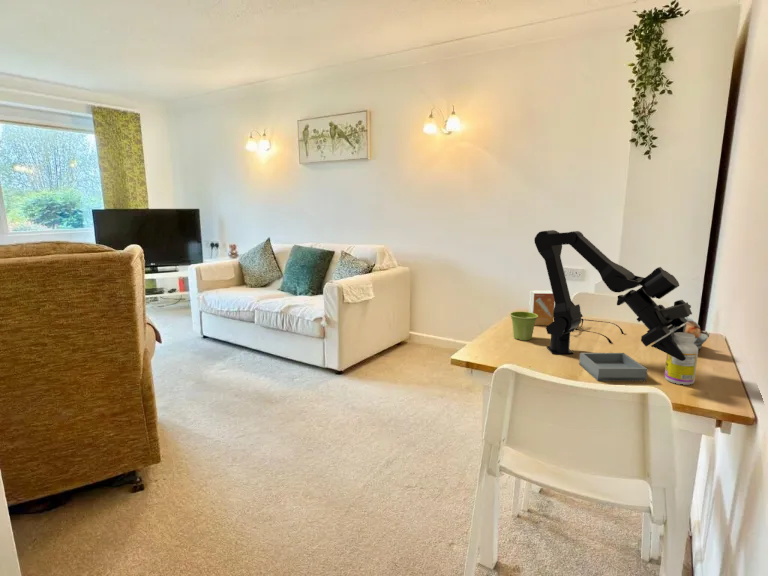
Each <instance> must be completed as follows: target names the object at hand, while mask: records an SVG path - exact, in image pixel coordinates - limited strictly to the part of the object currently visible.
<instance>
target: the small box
mask: <svg viewBox="0 0 768 576" xmlns="http://www.w3.org/2000/svg"><path fill="white" fill-rule="evenodd" d="M554 307H555V301H554V297H553V292H552V289H551V290H550V289H549V290H546V289H545V290H543V289H542V290H541V289H537V290H534V289H533V290H531V289H530V290H529V304H528V312H531V313H535V314H537V315H538V317H537V319H536V321H535V324H534V326H547V325H550V324H551V323H552V322H554V317H553V312H554Z"/></svg>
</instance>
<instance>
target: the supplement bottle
mask: <svg viewBox="0 0 768 576" xmlns="http://www.w3.org/2000/svg"><path fill="white" fill-rule="evenodd" d="M674 341H675V343H676V344H677V346H678V347H679V349H680V350H681V352H682V353H683V355H684V356H685V358H686V359H685V360H684V361H681V360H679V359H677V358H675V357H673V356H671V355H669V354H667V353H666V361H665V368H664V378H665V380H666V381H667V382H670V383H672V384H675V383H676V385H680V384H683V385H682V386H691V385H693V384H694V383H695V379H696V374H697V373H696V371H697V363H698V356H699V349H698V347H697V346H696V345H694V344H693V343H694V341H695V335H693V334H690V333H683V332H676V333H674ZM690 384H691V385H690Z"/></svg>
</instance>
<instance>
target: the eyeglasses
mask: <svg viewBox="0 0 768 576" xmlns="http://www.w3.org/2000/svg"><path fill="white" fill-rule="evenodd" d="M584 321H590V322H595V320H594V319H593V320H592V319H585V318H581V326H580V328H581V327H582V328H583V323H584ZM596 322H600V323H604V321H602V320H601V321H600V320H596ZM605 323H607V324H612V325H615V326H616V327H618V329H619V330H620V333H621V335H622V334H624V335H625V333H624V330H623V329H622V328H621V327H620V326H619V325H618V324H616V323H614V322H610V321H609V322H608V321H605ZM574 331H581V332H588V333H591V331H590V330H583V329H579V328H578V326H577V327H576V328H575V330H574ZM592 333H593V334H598V335H601V336H602V337H604V338H606V340H607V341H608V344H613V342H612V340H611V339H610V338H609V337H607V336H606V335H604V334H602V333H599V332H595V331H592Z"/></svg>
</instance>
